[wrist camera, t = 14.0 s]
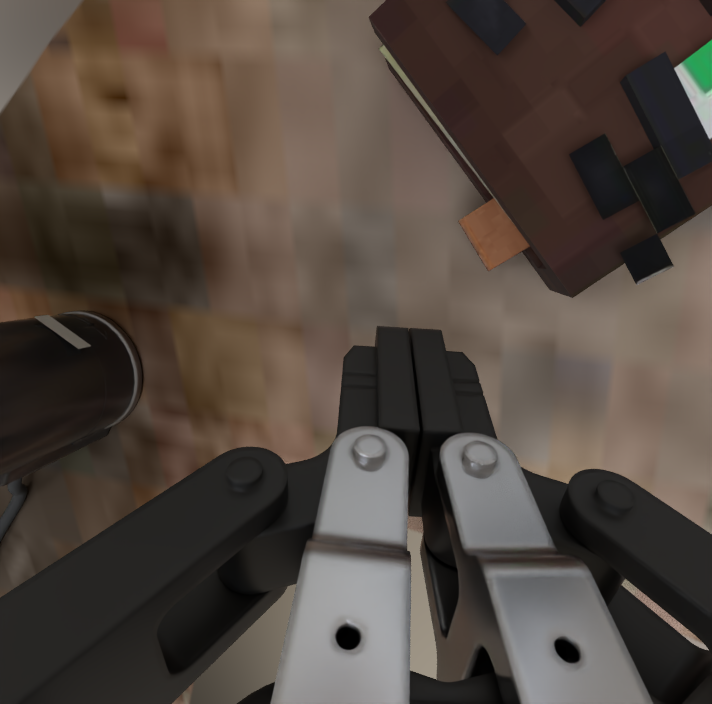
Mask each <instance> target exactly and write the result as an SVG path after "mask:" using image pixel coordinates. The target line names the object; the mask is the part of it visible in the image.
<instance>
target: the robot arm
mask: <svg viewBox="0 0 712 704" xmlns="http://www.w3.org/2000/svg"><path fill="white" fill-rule="evenodd" d="M141 388H142V369H141V364H140V360H139V357H138V354H137V351H136V349H135V347H134V345H133V344H132V342H131V340H130V339H129V337H128V336H127V335H126V333H125V332H124V331H123V330H122V329H121V328H120V327H119V326H118V325H117V324H116V323H114V322H113V321H111V320H110V319H108V318H107V317H105V316H103V315H100V314H98V313H95V312H90V311H73V312H66V313H62V314H58V315H54V316H49V315H43V316H35V318H29V319H22V320H14V321H7V322H0V486H4V485H7V484H8V491H9V492H10V493H11V494H13V497H12V499H11V501H10V503H9V505H8V507H7V509H6V510H5V512H4V514H3V515H2V517H1V518H0V542H1V540H2V538H3V536H4V534H5V532H6V531H7V529H8V528H9V526H10V524H11V523H12V521H13V520H14V518H15V516H16V515H17V513H18V512H19V510H20V508H21V506H22V505H23V503H24V500H25V498H26V495H27V487H26V486H25V485H24V484H22V477H24V476H26V475H28V474H30V473H32V472H34V471H36V470H38V469H40V468H42V467H44V466H46V465H48V464H50V463H53V462H55V461H57V460H58V459H60V458H62V457H64V456H66V455H68V454H70V453H73V452H75V451H77V450H79V449H81V448H83V447H85V446H87V445H89V444H91V443H93V442H95V441H97V440H99V439H101V438H103V437H105V436H107V435H108V432H109V429H110V427H111V426H113V425H115V424H117V423H119V422H121V421H122V420H124V419H125V418H126V417H127V416H128V415H129V414H130V413H131V412H132V411H133V409H134V407H135V406H136V404H137V402H138V399H139V397H140V393H141ZM408 514H409V516H415V517H422V521H423V531H424V532H423V536H422V541H421V547H420V554H421V560H422V566H423V572H424V577H425V583H426V589H427V594H428V601H429V606H430V612H431V618H432V623H433V629H434V635H435V641H436V648H437V680H436V679H433V678H430V677H427V676H424V675H421V674H419V673H416V672H413V671H410V611H411V610H410V609H411V555H410V552H409V551H407V520H408ZM625 578H626V579H627V580H628V581H629V582H630V583H632V584H633V585H634V586H635V587H637V588H638V589H639V590H640V591H642V592H643V593H644V594H645V595H646V596H648V597H649V598H650V599H651V600H653V601H654V602H655V603H656V604H658V605H659V606H660V607H661V608H662V609H664V610H665V611H666V612H667V613H669V614H670V615H671V616H672V617H674V618H675V619H676V620H677V621H678V622H680V623H681V624H682V625H683V626H685V627H686V628H687V629H688V630H690V631H691V632H692V633H693V634H694V635H696V636H697V637H698V638H699V639H700V640H701V641H702V642H703V643H704V644H705V645H706V646H707V648H708V649H709V651H708V650H704V649H701V648H699V647H697V646H695V645H694V644H692V643H691V642H690V641H688V640H687V639H686V638H685V637H683V636H682V635H681V634H680V633H679V632H677V631H676V630H675V629H674V628H673V627H671V626H670V625H669V624H668V623H667V622H665V621H664V620H663V619H662V618H660V617H659V616H658V615H657V614H656V613H654V612H653V611H652V610H651V609H650V608H648V607H647V606H646V605H645V604H644V603H642V602H641V601H640V600H639V599H637V598H636V597H635V596H634V595H633V594H631V593H630V592H629V591H628V590H627V589H625V588H624V587H623V586H622V585H621V584H622V583H623V581H624V580H625ZM293 584H297V585H296V590H295V594H294V599H293V604H292V608H291V613H290V617H289V622H288V627H287V631H286V636H285V640H284V645H283V649H282V654H281V658H280V663H279V668H278V672H277V677H276V681H275V682H274V683H271V684H269V685H266V686H264V687H262V688H261V689H259V690H257V691H255V692H253V693H251V694H250V695H248V696H247V697H246V698H244V699H243V700H241V701H240V702H238V703H237V704H712V534H710V533H709V532H707V531H706V530H704V529H703V528H701V527H700V526H698V525H697V524H695V523H694V522H692V521H691V520H689V519H688V518H686V517H685V516H683V515H682V514H680V513H679V512H677V511H676V510H674V509H673V508H671V507H670V506H668V505H667V504H665V503H664V502H662V501H661V500H659V499H658V498H656V497H655V496H653V495H652V494H650V493H649V492H647V491H646V490H644V489H643V488H641V487H640V486H639V485H637V484H636V483H634V482H632V481H631V480H629V479H627V478H625V477H623V476H621V475H619V474H616V473H614V472H610V471H606V470H600V469H587V470H583V471H580V472H578V473H576V474H575V475H574V476H573V477H572V478H571V480H570V481H569V484H566V483H563V482H560V481H557V480H553V479H550V478H547V477H544V476H540V475H537V474H535V473H532V472H530V471H528V470H526V469H524V468H522V467H520V465H519V462H518V460H517V458H516V456H515V455H514V453H513V452H512V451H511V450H510V449H509V448H508V447H507V446H506V445H505V444H503V443H502V442H500V441H499V440H497V437H496V434H495V430H494V427H493V424H492V420H491V417H490V414H489V410H488V407H487V404H486V400H485V397H484V396H483V391H482V387H481V384H480V383H479V377H478V374H477V371H476V367H475V365H474V364H473V363H472V362H471V361H470V360H469V359H468V358H467V357H466V356H465V355H464V354H463V352H452V351H446V348H445V344H444V340H443V335H442V331H441V330H433V329H418V328H410V329H409V332H408V328H400V327H384V326H377V330H376V340H375V347H370V346H353V347H352V348H351V350H350V351H349V352H348V353H347V354H346V355H345V357H344V361H343V373H342V383H341V395H340V406H339V417H338V428H337V435H336V438H335V440H334V442H333V443H332V445H331V446H330V447H329V448H328V449H327V450H326V451H324V452H323V453H321V454H320V455H318V456H316V457H313V458H311V459H308V460H304V461H299V462H294V463H289V464H285V463H284V461H283V460H282V459H281V458H280V457H279V456H278V455H277V454H275V453H274V452H272V451H270V450H267V449H264V448H260V447H242V448H236V449H233V450H230V451H227V452H225V453H223V454H221V455H220V456H218V457H216V458H215V459H213V460H212V461H210V462H209V463H207V464H206V465H204V466H203V467H201V468H199V469H198V470H196V471H195V472H193V473H192V474H190V475H189V476H187V477H186V478H184V479H183V480H181V481H179V482H178V483H176V484H175V485H173V486H172V487H170V488H169V489H167V490H166V491H164V492H162V493H161V494H159V495H158V496H156V497H155V498H153V499H152V500H150V501H149V502H147V503H146V504H144V505H142V506H141V507H139V508H138V509H136V510H135V511H133V512H132V513H130V514H129V515H127V516H125V517H124V518H122V519H121V520H119V521H118V522H116V523H115V524H113V525H112V526H110V527H109V528H107V529H105V530H104V531H102V532H101V533H99V534H98V535H96V536H95V537H93V538H92V539H90V540H88V541H87V542H85V543H84V544H82V545H81V546H79V547H78V548H76V549H75V550H73V551H72V552H70V553H68V554H67V555H65V556H64V557H62V558H61V559H59V560H58V561H56V562H55V563H53V564H51V565H50V566H48V567H47V568H45V569H44V570H42V571H41V572H39V573H38V574H36V575H35V576H33V577H31V578H30V579H28V580H27V581H25V582H24V583H22V584H21V585H19V586H18V587H16V588H14V589H13V590H11V591H10V592H8V593H7V594H5V595H4V596H2V597H1V598H0V704H172V703H173V702H174V701H175V700H176V699H177V698H178V697H179V696H180V695H181V694H182V693H183V692H184V691H185V690H186V689H187V688H188V687H189V686H190V685H191V684H192V683H193V682H194V681H195V680H196V679H197V678H198V677H199V676H200V675H201V674H202V673H203V672H204V671H205V670H206V669H207V668H208V667H209V666H210V665H211V664H213V663H214V662H215V661H216V659H218V657H220V656H221V655H222V654H223V653H224V652H225V651H226V650H227V649H228V648H229V647H230V646H231V645H232V644H233V643H234V642H235V641H236V640H237V639H238V638H239V637H240V636H241V635H242V634H243V633H244V632H245V631H246V630H247V629H248V628H249V627H250V626H251V625H252V624H253V623H254V622H255V621H256V620H258V618H260V617H261V616H262V615H263V614H264V613H265V612H266V611H267V610H268V609H269V608H270V607H271V606H272V605H273V604H274V603H275V602H276V601H277V600H278V599H279V598H280V597H281V596H282V595H283V593H284V592H285V590H286V589H287V586H290V585H293Z"/></svg>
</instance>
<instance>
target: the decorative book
mask: <svg viewBox="0 0 712 704" xmlns="http://www.w3.org/2000/svg"><path fill="white" fill-rule="evenodd" d="M369 19H370V22H371V24H372V27H373V29H374V32H375V34H376V35H377V36H378V38H379V39H380V40H381V42H382V43H383V45H382V46H381V47H380V48H379V50H380V51H381V52H382V54H383V55H384V56H385V59H386V62H387V64H388V67H389V69H390V71H391V72H392V73H393V75H394V76H395V78H396V79H397V80H398V82H399V83H400V84H401V86H402V87H403V89H404V90H405V91H406V93H407V94H408V95H409V97H410V98H411V100H412V101H413V102H414V104H415V105H416V106H417V108H418V109H419V111H420V112H421V113H422V115H423V116H424V117H425V119H426V120H427V121H428V123H429V124H430V126H431V127H432V128H433V130H434V131H435V132H436V134H437V135H438V137H439V138H440V139H441V141H442V142H443V143H444V145H445V146H446V148H447V149H448V150H449V152H450V153H451V154H452V156H453V157H454V159H455V160H456V161H457V163H458V164H459V165H460V167H461V168H462V170H463V171H464V172H465V174H466V175H467V176H468V178H469V179H470V181H471V182H472V183H473V185H474V186H475V187H476V189H477V190H478V192H479V193H480V194H481V196H482V197H483V198H484V200H485V201H486V203H485V204H484V205H482V206H481V207H479V208H478V209H476V210H474V211H473V212H471V213H470V214H468V215H467V216H465V217H464V218H462V219H460V220H459V221H458V222H459V224H460V225H461V227H462V229H463V230H464V232H465V234H466V235H467V237H468V239H469V240H470V242H471V244H472V245H473V247H474V249H475V250H476V252H477V254H478V255H479V257H480V259H481V260H482V262H483V264H484V265H485V267H486V269H487V270H488V271H490V270H491V269H493V268H495V267H496V266H498V265H500V264H501V263H503V262H505V261H506V260H508V259H510V258H511V257H513V256H515V255H516V254H518V253H520V252H521V251H522V252H523V253H524V255H525V256H526V258H527V259H528V260H529V262H530V263H531V264H532V266H533V267H534V269H535V270H536V271H537V273H538V274H539V275H540V277H541V278H542V280H543V281H544V282H545V284H546V285H547V286H548V288H549V289H550V290H552V291H555V292H558V293H561V294H563V295H566V296H569V297H572V298H573V297H574V296H576V295H577V294H579V293H580V292H582V291H583V290H585V289H586V288H588V287H589V286H591V285H592V284H594V283H595V282H597V281H598V280H600V279H601V278H603V277H604V276H606V275H607V274H609V273H611V272H612V271H614V270H615V269H617V268H618V267H620V266H621V265H623V264H624V263H625V264H626V266H627V268H628V270H629V271H630V273H631V275H632V277H633V279H634V281H635V283H636V285H638V284H640V283H642V282H644V281H646V280H648V279H650V278H652V277H654V276H656V275H658V274H660V273H662V272H664V271H666V270H668V269H670V268H672V267H674V266H673V264H672V262H671V260H670V258H669V256H668V254H667V252H666V250H665V248H664V246H663V244H662V242H661V240H660V239H662V238H663V237H665V236H666V235H668V234H669V233H671V232H672V231H674V230H675V229H677V228H678V227H680V226H681V225H683V224H684V223H686V222H687V221H689V220H690V219H692V218H693V217H695V216H696V215H698V214H699V213H701V212H702V211H704V210H705V209H707V208H708V207H710V206H711V205H712V0H386V1H385V2H384V3H383V4H382V5H381V6H380V7H379V8H378V9H377V10H376V11H375V12H374V13H373V14H371V15H370V16H369Z"/></svg>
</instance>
